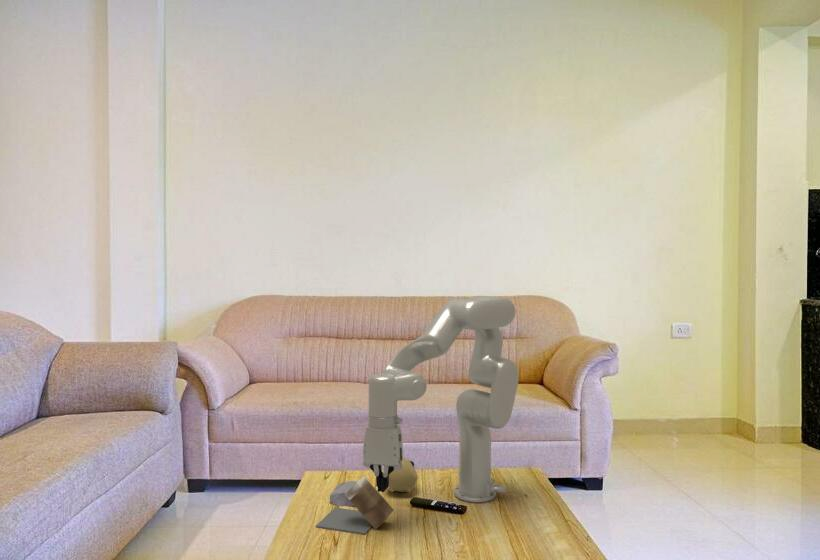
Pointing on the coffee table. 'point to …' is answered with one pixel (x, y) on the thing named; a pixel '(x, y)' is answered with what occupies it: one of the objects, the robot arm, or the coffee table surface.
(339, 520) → the rubber mat
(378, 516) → the walnut block
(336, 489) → the stone block
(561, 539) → the coffee table surface
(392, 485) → the tan rounded figure
